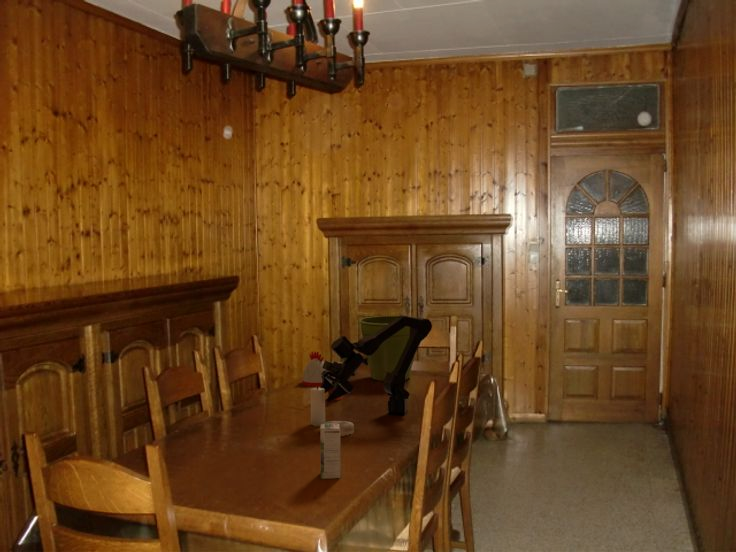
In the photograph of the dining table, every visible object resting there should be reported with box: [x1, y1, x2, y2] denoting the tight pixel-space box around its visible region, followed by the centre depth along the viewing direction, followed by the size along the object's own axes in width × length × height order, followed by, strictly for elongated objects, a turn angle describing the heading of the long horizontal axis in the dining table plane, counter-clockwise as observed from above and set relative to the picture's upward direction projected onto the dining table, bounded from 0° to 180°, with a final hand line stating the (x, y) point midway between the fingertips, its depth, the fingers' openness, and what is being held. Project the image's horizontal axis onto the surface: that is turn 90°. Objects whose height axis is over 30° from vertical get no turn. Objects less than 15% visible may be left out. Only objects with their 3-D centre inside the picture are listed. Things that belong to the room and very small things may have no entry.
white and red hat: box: [301, 351, 325, 387], centre depth 321 cm, size 14×14×15 cm
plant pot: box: [358, 315, 417, 382], centre depth 329 cm, size 30×30×29 cm
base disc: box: [319, 420, 355, 437], centre depth 240 cm, size 12×12×2 cm
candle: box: [310, 386, 326, 427], centre depth 250 cm, size 5×5×14 cm
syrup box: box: [319, 423, 342, 480], centre depth 196 cm, size 6×6×14 cm
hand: (322, 398), depth 251 cm, fingers open, 9 cm apart
